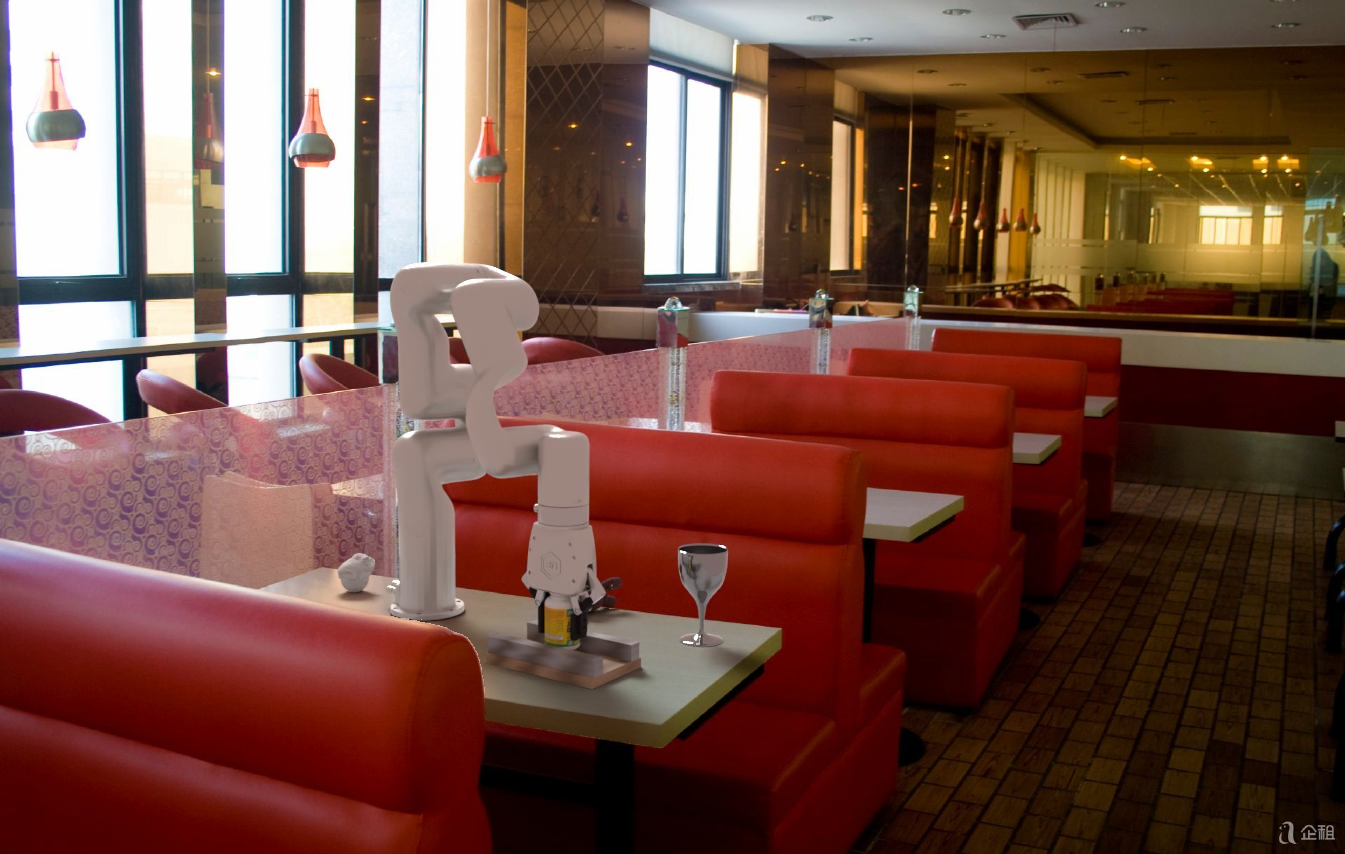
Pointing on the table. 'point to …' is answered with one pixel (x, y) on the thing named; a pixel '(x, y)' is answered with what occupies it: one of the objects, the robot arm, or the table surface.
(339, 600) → the table surface
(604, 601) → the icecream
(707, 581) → the wine glass
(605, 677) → the sliding track
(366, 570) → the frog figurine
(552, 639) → the supplement bottle
